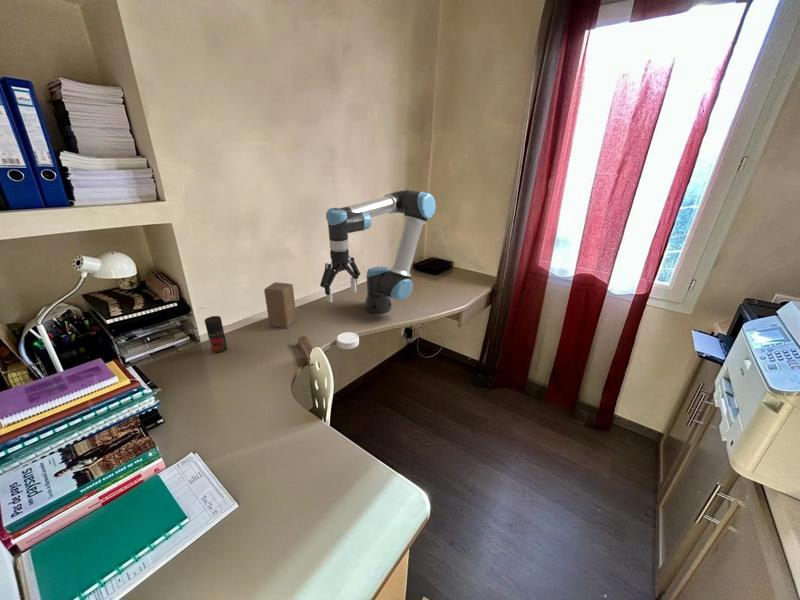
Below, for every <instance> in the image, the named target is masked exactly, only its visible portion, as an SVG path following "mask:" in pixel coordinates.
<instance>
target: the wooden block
mask: <svg viewBox="0 0 800 600" xmlns="http://www.w3.org/2000/svg"><path fill="white" fill-rule="evenodd" d="M263 291H264V292H263V293H264V297H265V304H266V311H267V319H268V324H269V326H270V327H275V328H280V329H281V328H282V329H288V328H290V327H291V326H292V325H293V324H294V323H295V322H296V321H297V311H296V310H297V309H296V303H295V294H294V285H293V283H286V282H273V283H271V284H270V285H269V286H267V287H266V288H264V290H263Z"/></svg>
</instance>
